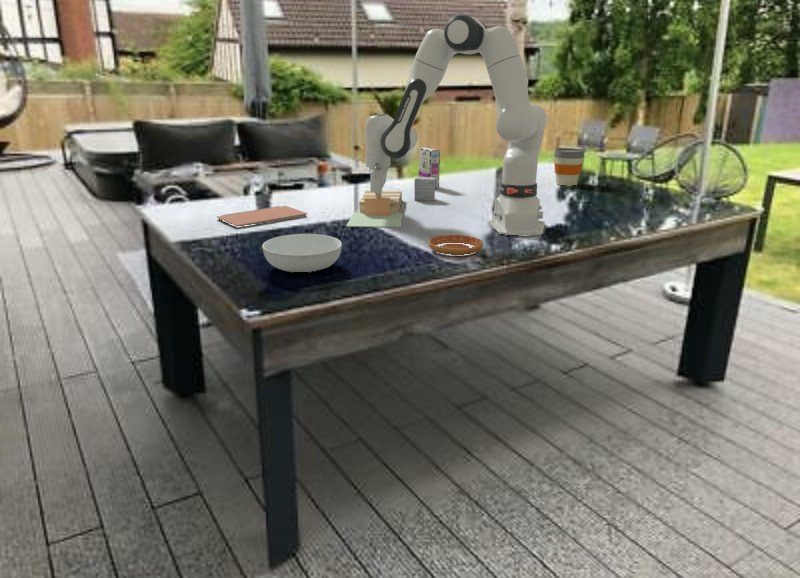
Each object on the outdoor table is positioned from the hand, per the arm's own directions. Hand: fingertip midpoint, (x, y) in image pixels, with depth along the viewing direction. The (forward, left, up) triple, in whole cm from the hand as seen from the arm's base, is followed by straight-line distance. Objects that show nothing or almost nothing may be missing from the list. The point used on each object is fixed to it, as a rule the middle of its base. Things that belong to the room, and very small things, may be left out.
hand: (378, 200), depth 227 cm
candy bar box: (+51, -17, -5) cm, 54 cm away
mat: (-10, 0, -5) cm, 11 cm away
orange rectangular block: (-2, 0, -2) cm, 3 cm away
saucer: (-45, -27, -5) cm, 53 cm away
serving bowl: (-64, +14, -5) cm, 66 cm away
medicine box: (+24, -16, -5) cm, 29 cm away
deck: (+11, 0, -5) cm, 12 cm away
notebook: (-9, +41, -6) cm, 42 cm away
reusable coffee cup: (+60, -78, -5) cm, 99 cm away
